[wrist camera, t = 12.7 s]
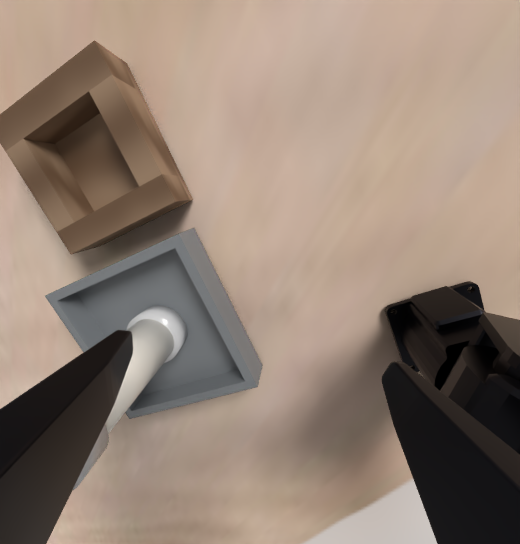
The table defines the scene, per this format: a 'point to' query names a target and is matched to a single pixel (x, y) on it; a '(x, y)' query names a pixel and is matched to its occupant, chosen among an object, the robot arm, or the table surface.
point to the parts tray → (181, 298)
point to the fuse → (142, 365)
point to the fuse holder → (92, 151)
